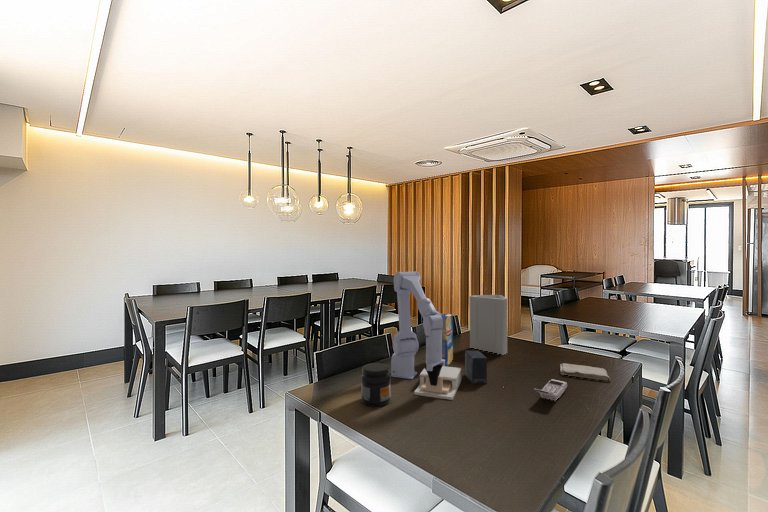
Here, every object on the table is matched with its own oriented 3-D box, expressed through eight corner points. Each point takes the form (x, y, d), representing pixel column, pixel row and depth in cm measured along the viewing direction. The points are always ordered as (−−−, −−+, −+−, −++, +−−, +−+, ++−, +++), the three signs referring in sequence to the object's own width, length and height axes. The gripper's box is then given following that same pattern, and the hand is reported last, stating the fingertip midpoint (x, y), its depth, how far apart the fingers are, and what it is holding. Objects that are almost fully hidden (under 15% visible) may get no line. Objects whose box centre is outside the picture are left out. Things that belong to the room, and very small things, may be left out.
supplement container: (397, 400, 126) (396, 366, 125) (375, 410, 118) (375, 374, 118) (376, 392, 133) (376, 360, 133) (354, 401, 126) (354, 367, 125)
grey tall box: (515, 349, 189) (515, 296, 188) (503, 355, 178) (503, 299, 178) (482, 343, 202) (482, 293, 201) (469, 348, 191) (469, 296, 191)
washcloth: (559, 368, 160) (559, 361, 160) (606, 373, 152) (606, 366, 152) (560, 376, 149) (560, 369, 149) (610, 383, 142) (610, 375, 142)
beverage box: (453, 360, 171) (452, 314, 170) (446, 367, 161) (445, 318, 161) (439, 358, 174) (439, 313, 174) (431, 365, 164) (431, 317, 164)
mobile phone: (532, 388, 122) (552, 368, 141) (532, 405, 122) (552, 383, 141) (551, 392, 118) (569, 372, 137) (551, 410, 118) (569, 387, 137)
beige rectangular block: (420, 389, 132) (420, 374, 132) (431, 375, 147) (431, 361, 147) (447, 393, 128) (447, 378, 128) (455, 378, 143) (455, 364, 143)
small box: (488, 383, 141) (487, 357, 141) (471, 384, 140) (471, 357, 140) (479, 374, 151) (479, 349, 151) (464, 375, 151) (464, 350, 151)
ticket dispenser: (414, 394, 131) (414, 380, 131) (427, 376, 150) (427, 364, 150) (452, 400, 126) (452, 385, 126) (461, 380, 145) (461, 368, 144)
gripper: (440, 353, 122) (440, 393, 122) (448, 343, 135) (448, 379, 136) (420, 351, 124) (420, 390, 125) (430, 341, 138) (430, 376, 138)
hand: (434, 384), depth 130 cm, fingers closed, pressing on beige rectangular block
